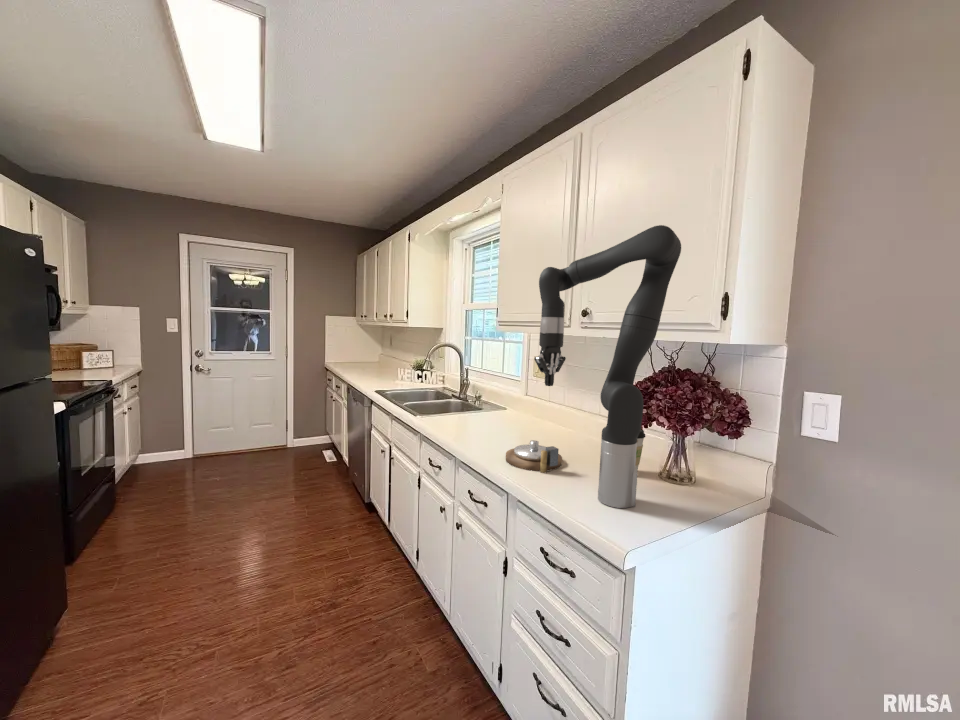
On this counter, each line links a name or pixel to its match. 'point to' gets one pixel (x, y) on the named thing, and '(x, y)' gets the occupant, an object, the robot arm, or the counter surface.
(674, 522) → the counter surface
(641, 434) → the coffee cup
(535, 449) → the flange plate
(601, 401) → the robot arm
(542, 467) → the base
